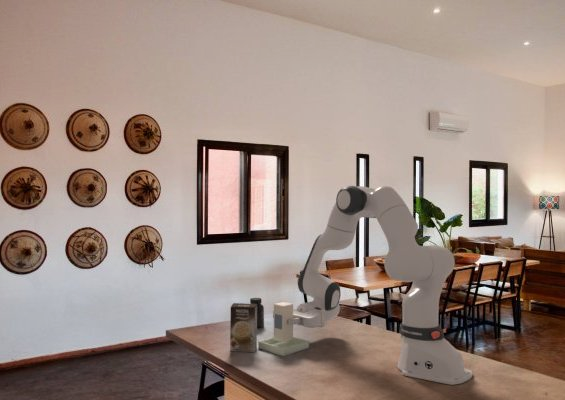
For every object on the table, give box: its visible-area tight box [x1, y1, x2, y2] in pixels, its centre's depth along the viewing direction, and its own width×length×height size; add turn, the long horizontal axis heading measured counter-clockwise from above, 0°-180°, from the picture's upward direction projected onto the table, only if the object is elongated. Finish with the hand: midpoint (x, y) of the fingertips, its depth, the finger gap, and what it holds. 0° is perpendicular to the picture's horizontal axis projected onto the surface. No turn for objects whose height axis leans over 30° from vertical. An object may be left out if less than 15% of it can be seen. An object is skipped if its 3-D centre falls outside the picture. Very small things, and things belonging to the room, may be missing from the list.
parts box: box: [273, 301, 294, 342], centre depth 177 cm, size 5×5×13 cm
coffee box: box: [229, 302, 258, 353], centre depth 176 cm, size 9×6×16 cm
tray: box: [257, 336, 310, 357], centre depth 177 cm, size 13×13×2 cm
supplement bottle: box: [249, 297, 265, 329], centre depth 208 cm, size 7×7×12 cm
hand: (281, 320), depth 177 cm, fingers closed on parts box, 5 cm apart
